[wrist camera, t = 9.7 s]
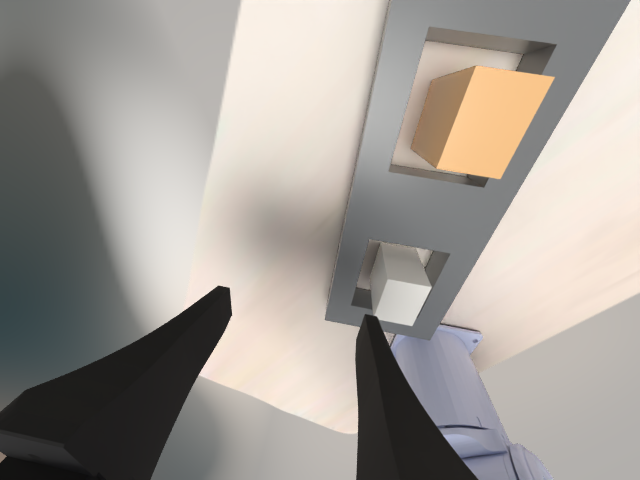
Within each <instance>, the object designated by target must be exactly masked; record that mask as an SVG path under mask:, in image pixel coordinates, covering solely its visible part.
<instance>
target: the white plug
mask: <svg viewBox="0 0 640 480" xmlns="http://www.w3.org/2000/svg"><path fill="white" fill-rule="evenodd" d="M370 286H371V298H372V309H373V316H377V317H378V319H379V320H383V321H388V322H393V323H398V324H403V325H409V326H413V324H414V322H415V320H416V318H417V316H418V314H419V312H420V310H421V308H422V306H423V304H424V302H425V300H426V298H427V296H428V294H429V292H430V290H431V288H432V287H431V284H430V282H429V279H428V277H427V275H426V272H425V270H424V268H423V265H422V263H421V261H420V258H419V256H418V253H417V251H416V249H415V248H410V247H404V246H399V245H393V244H387V243H382V242H381V243H380V246H379V250H378V253H377V256H376V259H375V262H374V266H373V269H372V272H371V275H370Z"/></svg>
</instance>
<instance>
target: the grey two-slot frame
mask: <svg viewBox="0 0 640 480" xmlns="http://www.w3.org/2000/svg"><path fill="white" fill-rule="evenodd" d="M630 1H631V0H389V5H388V10H387V14H386V19H385V24H384V29H383V34H382V39H381V44H380V48H379V53H378V58H377V63H376V68H375V73H374V78H373V82H372V87H371V92H370V97H369V102H368V107H367V111H366V116H365V121H364V126H363V131H362V136H361V141H360V145H359V150H358V155H357V160H356V165H355V170H354V175H353V179H352V184H351V189H350V194H349V199H348V204H347V209H346V213H345V218H344V223H343V228H342V233H341V238H340V242H339V247H338V252H337V257H336V262H335V267H334V272H333V276H332V281H331V286H330V291H329V296H328V301H327V308H326V315H325V320H327V321H332V322H337V323H342V324H347V325H353V326H358V327H361V324H362V321H363V318H364V315H365V314H368V315H373V309H372V298H371V291H370V290H365V289H360V288H356V285H357V281H358V278H359V274H360V271H361V267H362V264H363V260H364V257H365V253H366V249H367V246H368V242H369V239H372V240H378V241H383V242H389V243H394V244H400V245H406V246H411V247H417V248H422V249H428V250H434V251H433V253H432V255H431V258H430V260H429V262H428V264H427V266H426V268H425V272H426V275H427V277H428V279H429V282H430V284H431V287H432V288H431V290H430V292H429V294H428V296H427V298H426V300H425V302H424V304H423V306H422V308H421V310H420V312H419V314H418V316H417V318H416V320H415V322H414V324H413V326H409V325H403V324H398V323H393V322H388V321H383V320H379V322H380V325H381V327H382V330H383V332H389V333H394V334H399V335H404V336H409V337H414V338H419V339H424V340H431V338H432V336H433V334H434V333H435V331H436V329H437V328H438V326H439V324H440V323H441V321H442V319H443V317H444V316H445V314H446V312H447V311H448V309H449V307H450V306H451V304H452V302H453V301H454V299H455V297H456V295H457V294H458V292H459V290H460V289H461V287H462V285H463V284H464V282H465V280H466V279H467V277H468V275H469V273H470V272H471V270H472V268H473V267H474V265H475V263H476V262H477V260H478V258H479V256H480V255H481V253H482V251H483V250H484V248H485V246H486V245H487V243H488V241H489V240H490V238H491V236H492V234H493V233H494V231H495V229H496V228H497V226H498V224H499V223H500V221H501V219H502V217H503V216H504V214H505V212H506V211H507V209H508V207H509V206H510V204H511V202H512V201H513V199H514V197H515V195H516V194H517V192H518V190H519V189H520V187H521V185H522V184H523V182H524V180H525V179H526V177H527V175H528V173H529V172H530V170H531V168H532V167H533V165H534V163H535V162H536V160H537V158H538V156H539V155H540V153H541V151H542V150H543V148H544V146H545V145H546V143H547V141H548V140H549V138H550V136H551V134H552V133H553V131H554V129H555V128H556V126H557V124H558V123H559V121H560V119H561V118H562V116H563V114H564V112H565V111H566V109H567V107H568V106H569V104H570V102H571V101H572V99H573V97H574V95H575V94H576V92H577V90H578V89H579V87H580V85H581V84H582V82H583V80H584V79H585V77H586V75H587V73H588V72H589V70H590V68H591V67H592V65H593V63H594V62H595V60H596V58H597V57H598V55H599V53H600V51H601V50H602V48H603V46H604V45H605V43H606V41H607V40H608V38H609V36H610V34H611V33H612V31H613V29H614V28H615V26H616V24H617V23H618V21H619V19H620V18H621V16H622V14H623V12H624V11H625V9H626V7H627V6H628V4H629V2H630ZM425 40H427V41H434V42H442V43H449V44H456V45H463V46H470V47H477V48H484V49H491V50H498V51H505V52H512V53H520V54H524V55H523V57H522V60H521V62H520V64H519V66H518V68H517V70H516V71H517V72H524V73H531V74H538V75H544V76H551V77H555V78H554V80H553V82H552V84H551V86H550V87H549V89H548V91H547V93H546V95H545V97H544V99H543V100H542V102H541V104H540V106H539V108H538V110H537V112H536V114H535V115H534V117H533V119H532V121H531V123H530V125H529V127H528V128H527V130H526V132H525V134H524V136H523V138H522V140H521V141H520V143H519V145H518V147H517V149H516V151H515V153H514V155H513V156H512V158H511V160H510V162H509V164H508V166H507V168H506V169H505V171H504V173H503V175H502V177H501V179H496V178H490V177H484V176H478V175H472V174H469V175H468V177H464V176H458V175H452V174H446V173H440V172H433V171H427V170H421V169H415V168H409V167H403V166H397V165H391V160H392V157H393V153H394V150H395V146H396V143H397V139H398V136H399V132H400V128H401V125H402V121H403V118H404V114H405V111H406V107H407V104H408V100H409V96H410V93H411V89H412V86H413V82H414V79H415V75H416V72H417V68H418V64H419V61H420V57H421V54H422V50H423V47H424V43H425Z"/></svg>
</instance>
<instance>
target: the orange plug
mask: <svg viewBox="0 0 640 480" xmlns="http://www.w3.org/2000/svg"><path fill="white" fill-rule="evenodd" d="M554 78H555V77H551V76H544V75H538V74H531V73H524V72H517V71H510V70H503V69H497V68H490V67H483V66H473V67H470V68H467V69H464V70H461V71H458V72H455V73H452V74H449V75H445V76H442V77H439V78H436V79H433V80H432V82H431V85H430V88H429V92H428V95H427V98H426V101H425V104H424V107H423V111H422V114H421V117H420V120H419V123H418V126H417V130H416V133H415V136H414V139H413V142H412V145H411V149H412V150H413V151H414V152H416V153H417V154H418V155H419V156H421V157H422V158H423V159H425V160H426V161H427V162H428V163H430V164H431V165H432V166H434V167H435V168H436V169H441V170H447V171H453V172H459V173H466V174H472V175H478V176H484V177H490V178H496V179H501V177H502V175H503V173H504V171H505V169H506V168H507V166H508V164H509V162H510V160H511V158H512V156H513V155H514V153H515V151H516V149H517V147H518V145H519V143H520V141H521V140H522V138H523V136H524V134H525V132H526V130H527V128H528V127H529V125H530V123H531V121H532V119H533V117H534V115H535V114H536V112H537V110H538V108H539V106H540V104H541V102H542V100H543V99H544V97H545V95H546V93H547V91H548V89H549V87H550V86H551V84H552V82H553V80H554Z"/></svg>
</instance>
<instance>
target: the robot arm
mask: <svg viewBox="0 0 640 480" xmlns="http://www.w3.org/2000/svg"><path fill="white" fill-rule="evenodd" d="M231 316H232V309H231V298H230V288H228V287H223V286H217V287H216V288H215V289H213V290H212V291H210V292H209V293H208V294H206V295H205V296H204V297H202V298H201V299H200V300H198V301H197V302H196V303H194V304H193V305H192V306H190V307H189V308H187V309H186V310H185V311H183V312H182V313H180V314H179V315H178V316H176V317H174V318H173V319H171V320H170V321H168V322H167V323H165V324H164V325H162V326H161V327H159V328H157V329H156V330H154V331H153V332H151V333H149V334H148V335H146V336H144V337H142V338H141V339H139V340H137V341H135V342H133V343H132V344H130V345H128V346H126V347H124V348H122V349H120V350H118V351H116V352H114V353H112V354H110V355H108V356H106V357H104V358H102V359H100V360H97V361H95V362H93V363H91V364H89V365H86V366H84V367H82V368H79V369H77V370H75V371H73V372H70V373H68V374H65V375H63V376H60V377H58V378H55V379H53V380H50V381H48V382H45V383H42V384H40V385H37V386H35V387H32V388H30V389H27V390H25V391H24V392H23V393H22V394H21V395H20V396H18V397H17V398H16V399H15V400H14V401H12V402H11V403H10V404H9V405H8V406H7V407H5V408H4V409H3V410H2V411H1V412H0V452H2V453H3V454H5V455H6V456H7V457H6V458H5V459H4V460H3V461H2V462H1V463H0V480H150V479H151V477H152V474H153V472H154V469H155V467H156V465H157V462H158V460H159V457H160V455H161V453H162V450H163V448H164V446H165V443H166V441H167V439H168V437H169V434H170V432H171V430H172V428H173V426H174V423H175V421H176V419H177V417H178V415H179V413H180V411H181V409H182V406H183V404H184V402H185V400H186V398H187V396H188V394H189V392H190V390H191V388H192V386H193V384H194V382H195V380H196V378H197V377H198V375H199V373H200V371H201V370H202V368H203V367H204V365H205V363H206V362H207V360H208V358H209V357H210V355H211V353H212V352H213V350H214V348H215V347H216V345H217V343H218V342H219V340H220V338H221V337H222V335H223V333H224V331H225V329H226V327H227V325H228V323H229V320H230V318H231ZM482 338H483V336H482V334H481V333H480V332H476V331H471V330H466V329H461V328H455V327H450V326H445V325H440V324H439V326H438V328H437V329H436V331H435V333H434V334H433V336H432V338H431V340H424V339H419V338H414V337H409V336H404V335H399V334H396V336H395V339H394V341H393V343H392V345H391V347H390V346H389V344H388V342H387V339H386V337H385V335H384V332H383V330H382V327H381V325H380V322H379V319H378V317H377V316H373V315H368V314H365V315H364V318H363V321H362V324H361V327H360V330H359V333H358V336H357V339H356V358H355V361H356V379H357V396H358V451H357V452H358V453H357V476H356V480H554V479H553V477H552V476H551V474H550V473H549V471H548V470H547V468H546V467H545V466H544V464H543V463H542V461H541V460H540V459H539V458H538V457H537V456H536V455H535V454H534V453H532V452H531V451H529V450H527V449H526V448H525V447H524V446H523V445H521V444H514V445H513V444H512V443H511V442H510V441H509V439H508V436H507V434H506V432H505V430H504V428H503V426H502V423H501V422H500V419H499V417H498V415H497V413H496V411H495V408H494V406H493V404H492V402H491V400H490V398H489V395H488V393H487V391H486V389H485V387H484V385H483V382H482V380H481V378H480V376H479V374H478V372H477V369H476V367H475V365H474V363H473V361H472V359H471V356H470V354H471V353H472V351H473V350H474V349H475V348H476V346H477V345H478V344H479V342H480V341H481V340H482Z"/></svg>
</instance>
